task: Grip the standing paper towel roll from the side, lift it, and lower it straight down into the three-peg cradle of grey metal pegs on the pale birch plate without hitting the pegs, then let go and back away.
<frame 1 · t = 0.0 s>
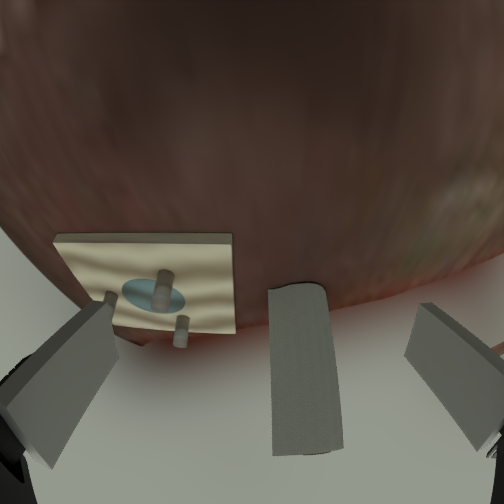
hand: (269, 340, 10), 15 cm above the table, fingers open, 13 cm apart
paper towel roll: (301, 290, 36), on the table
peg cradle: (155, 288, 36), on the table
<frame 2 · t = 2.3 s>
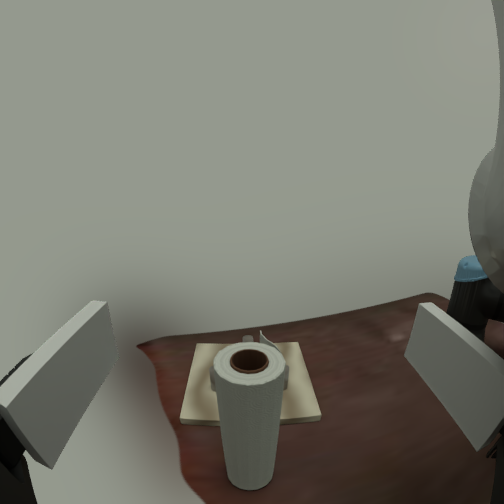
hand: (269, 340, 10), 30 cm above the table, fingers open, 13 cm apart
paper towel roll: (253, 472, 27), on the table
peg cradle: (248, 382, 46), on the table
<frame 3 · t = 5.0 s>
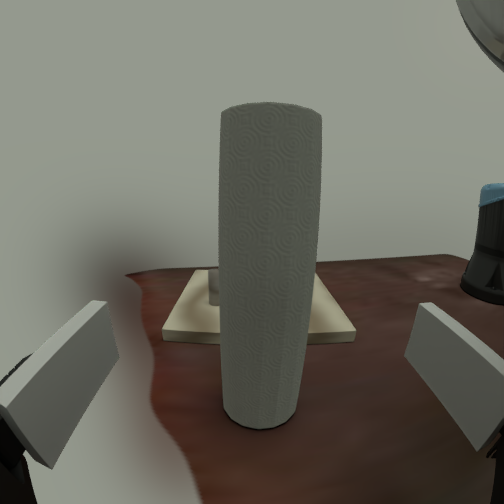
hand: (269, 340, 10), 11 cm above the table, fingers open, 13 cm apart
paper towel roll: (264, 403, 20), on the table
peg cradle: (257, 304, 40), on the table
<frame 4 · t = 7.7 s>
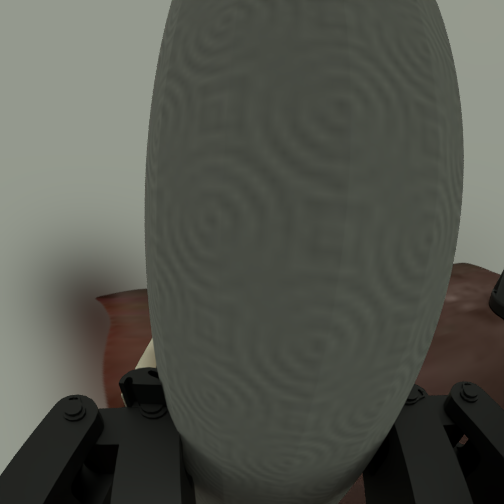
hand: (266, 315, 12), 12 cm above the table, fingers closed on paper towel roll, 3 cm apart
peg cradle: (253, 346, 29), on the table
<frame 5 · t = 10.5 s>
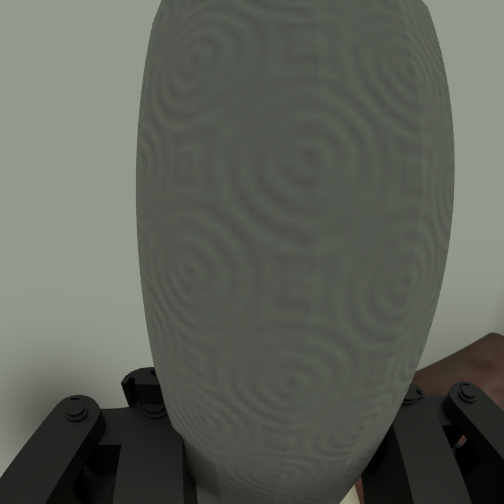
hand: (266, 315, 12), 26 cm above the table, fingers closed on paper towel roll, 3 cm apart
when the fingers open (14 cm above the table, at t = 13.6 s): paper towel roll stays where it is, resting on peg cradle.
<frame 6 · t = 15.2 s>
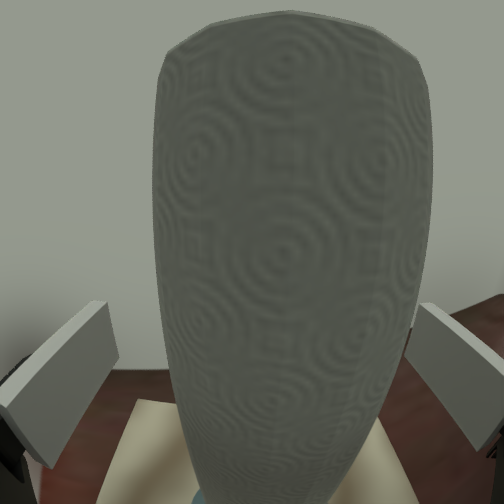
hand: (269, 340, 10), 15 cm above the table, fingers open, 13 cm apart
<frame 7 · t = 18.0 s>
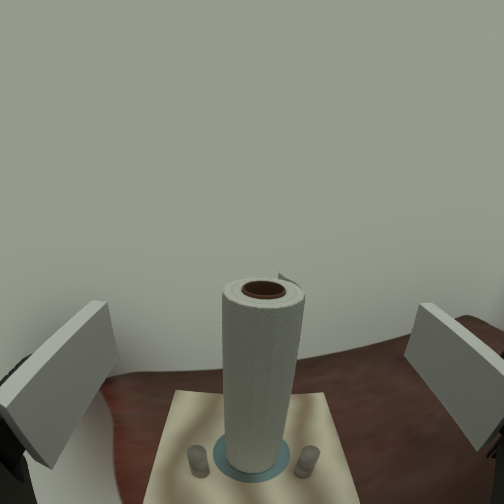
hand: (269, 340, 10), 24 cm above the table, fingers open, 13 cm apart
paper towel roll: (255, 453, 25), point 1 cm above the table, touching peg cradle
peg cradle: (251, 459, 25), on the table
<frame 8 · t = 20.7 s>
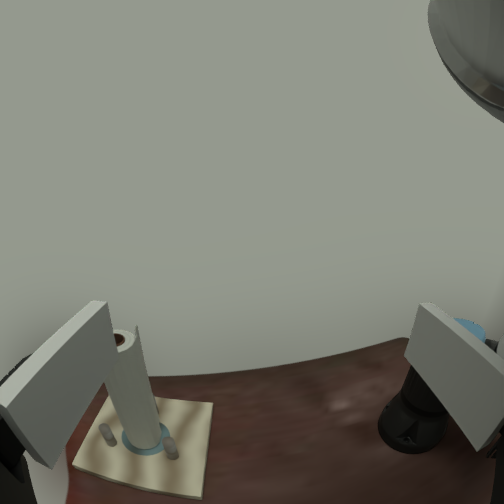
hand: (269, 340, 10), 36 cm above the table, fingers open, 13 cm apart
paper towel roll: (148, 437, 36), point 1 cm above the table, touching peg cradle
peg cradle: (147, 441, 36), on the table
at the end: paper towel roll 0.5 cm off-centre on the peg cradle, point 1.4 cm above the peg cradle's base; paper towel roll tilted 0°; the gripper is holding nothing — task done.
